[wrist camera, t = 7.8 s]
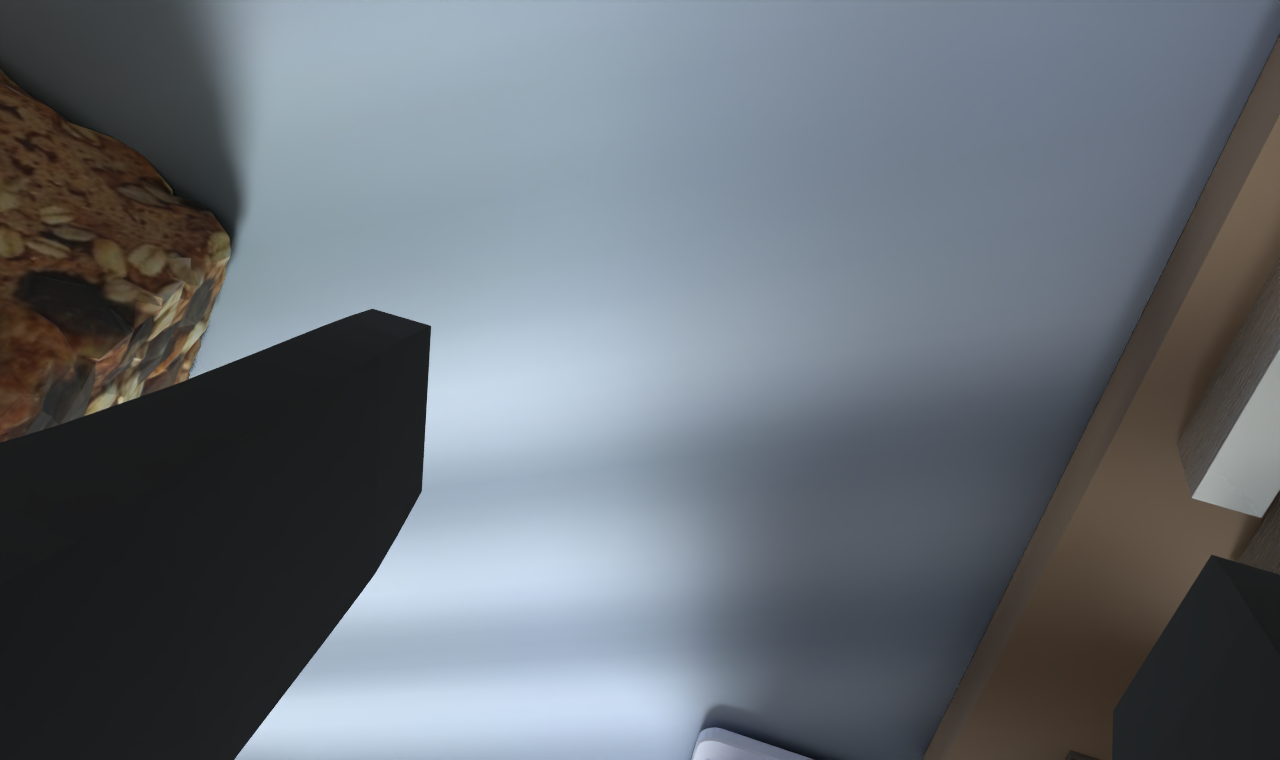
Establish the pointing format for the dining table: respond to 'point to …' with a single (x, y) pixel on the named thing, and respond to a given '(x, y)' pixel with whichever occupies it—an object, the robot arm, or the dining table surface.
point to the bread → (93, 270)
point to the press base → (1146, 478)
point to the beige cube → (1265, 543)
